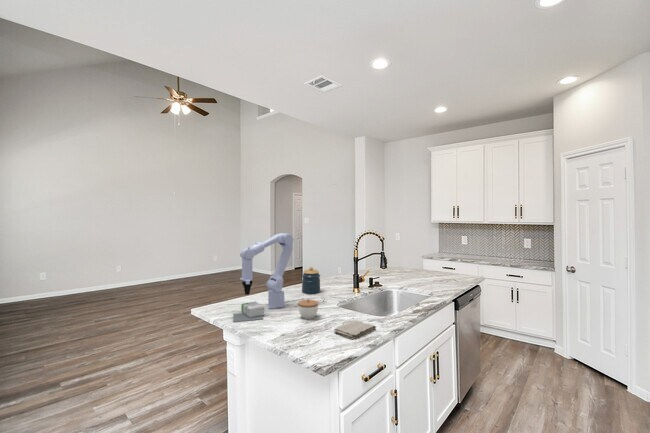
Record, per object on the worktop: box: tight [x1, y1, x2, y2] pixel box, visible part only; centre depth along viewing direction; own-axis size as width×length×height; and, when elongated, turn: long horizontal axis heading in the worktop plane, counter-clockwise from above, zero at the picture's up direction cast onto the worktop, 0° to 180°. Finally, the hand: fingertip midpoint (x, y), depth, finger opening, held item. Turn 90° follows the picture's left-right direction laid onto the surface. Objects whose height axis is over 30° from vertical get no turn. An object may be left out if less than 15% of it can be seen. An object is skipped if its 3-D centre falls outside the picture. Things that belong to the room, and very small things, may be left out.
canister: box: [301, 266, 321, 295], centre depth 219 cm, size 13×13×18 cm
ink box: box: [241, 300, 265, 317], centre depth 170 cm, size 9×5×12 cm
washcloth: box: [334, 320, 377, 340], centre depth 146 cm, size 12×18×3 cm, turn 137°
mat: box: [232, 312, 264, 323], centre depth 166 cm, size 15×12×1 cm
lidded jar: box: [297, 298, 319, 320], centre depth 167 cm, size 11×11×9 cm
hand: (247, 294), depth 175 cm, fingers closed
